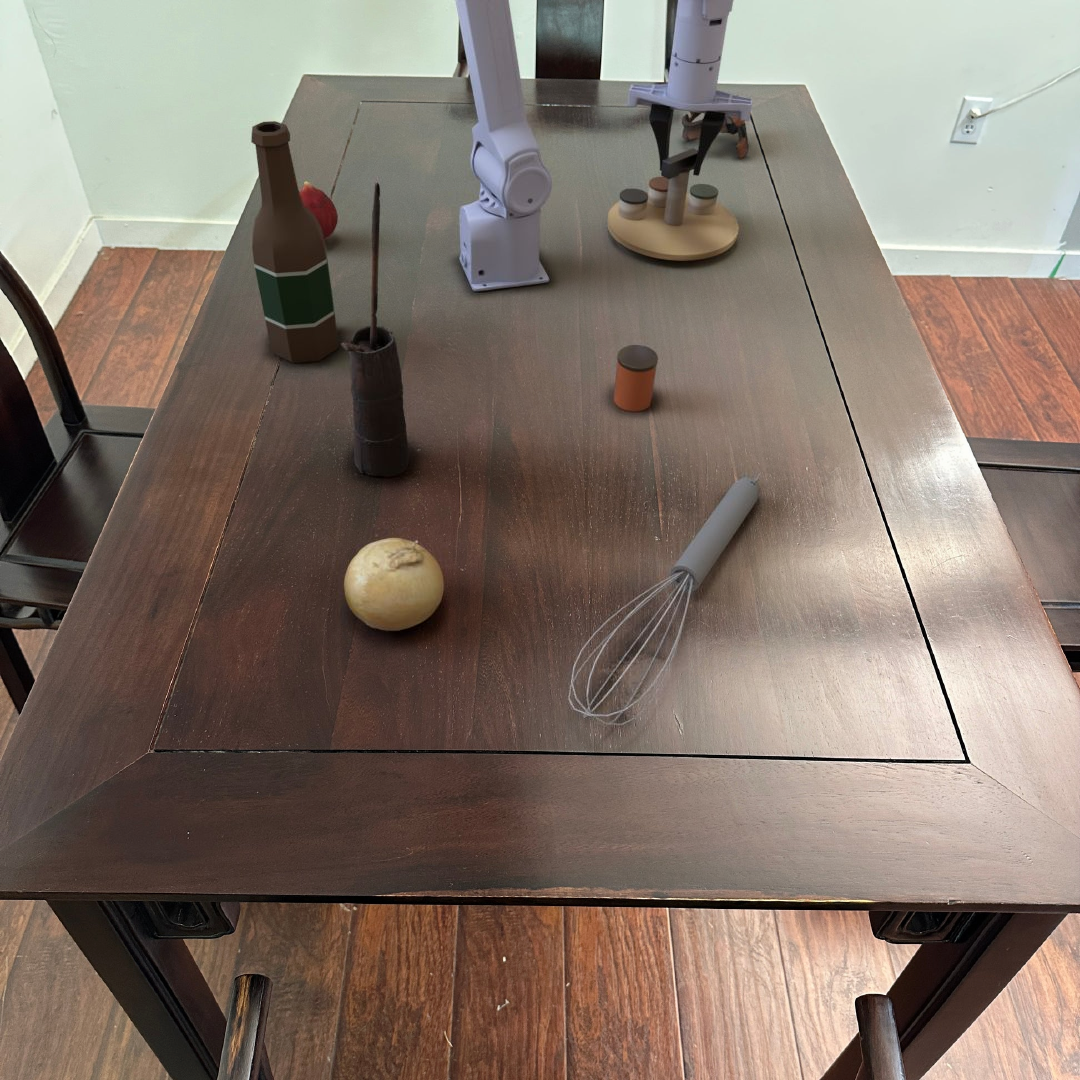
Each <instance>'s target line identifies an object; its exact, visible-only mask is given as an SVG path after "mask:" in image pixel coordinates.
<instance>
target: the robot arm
mask: <svg viewBox="0 0 1080 1080" xmlns="http://www.w3.org/2000/svg"><path fill="white" fill-rule="evenodd" d="M454 1H455V5H456V12H457V16H458V22H459V28H460V32H461V37H462V42H463V48H464V53H465V58H466V64H467V69H468V73H469V79H470V84H471V89H472V90H471V91H472V95H473V99H474V100H473V101H474V105H475V110H476V115H477V116H476V117H477V123H476V124H475V125H474V126H473V127H472V128H471V132H472V139H473V145H472V150H471V154H470V167H471V170H472V173H473V175H474V176H475V178H476V179H477V180H479V181H480V182H479V183H480V190H479V196H478V197H479V199H477V200H476V201H473V202H471V203H468V204H465V205H462V206H460V208H459V216H458V217H459V218H458V219H459V249H460V251H459V252H460V256H459V261H460V264H461V267H462V268H463V271H464V274H465V276H466V278H467V280H468V282H469V285H470V287H471V289H472V291H473V292H483V291H492V290H498V289H506V288H514V287H522V286H531V285H538V284H539V285H541V284H545V283H546V284H547V283H548V282H549V281H550V277H549V276H548V274H547V272H546V270H545V268H544V266H543V265H542V263H541V261H540V243H541V242H540V241H541V217H542V216H541V213H542V207H543V206H544V205H545V204H546V202H547V201H548V199H549V198H550V195H551V193H552V189H553V188H552V187H553V178H552V175H551V172H550V169H548V167H547V165H545V164H544V161H543V160H542V157H541V151H540V147H539V144H538V142H537V140H536V137H535V135H534V133H533V131H532V130H531V127H530V124H529V122H528V119H527V112H526V106H525V99H524V91H523V86H522V79H521V72H520V65H519V59H518V53H517V46H516V45H517V44H516V40H515V32H514V26H513V19H512V13H511V7H510V0H454ZM734 2H735V1H734V0H677V7H676V15H675V24H674V30H673V31H674V33H673V41H672V48H671V54H670V55H671V56H670V65H669V72H668V81H667V83H666V84H665V83H664V84H662V83H661V84H642V83H641V84H639V83H631V85H630V87H629V89H628V98H627V106H628V107H632V108H634V107H635V108H636V107H637V106H642V107H643V106H644V107H650V112H649V115H648V119H649V124H650V126H651V129H652V131H653V134H654V138H655V141H656V145H657V150H658V157H659V171H660V172H661V171H662V163H663V160H664V159H667V158H669V157H670V143H671V142H670V140H671V131H672V126H673V125H672V124H673V118H674V112H675V110H676V111H683V112H689V113H690V112H698V113H702V114H704V115H703V117H702V119H703V121H702V125H701V133H700V140H699V141H698V147H697V150H698V154H697V158H696V162H695V166H694V169H693V172H692V173H693V174H692V175H693V176H695V177H697V176H698V177H699V176H700V174H701V169H702V165H703V163H704V161H705V158H706V156H707V153H708V152H709V149H710V148H711V146H712V144H713V143H714V141H715V140H716V138H717V136H719V134H720V130H721V129H722V127H723V124H724V120H725V116H729V117H737V118H740V120H743V121H745V122H750V119H751V113H752V109H753V103H754V98H751V97H746V96H740V95H738V94H733V93H729V92H726V91H721V90H718V89H717V88H718V81H719V76H720V69H721V62H722V57H723V51H724V43H725V38H726V31H727V24H728V19H729V16H730V12H732V11H733V5H734ZM737 95H738V96H737Z"/></svg>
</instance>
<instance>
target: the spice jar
mask: <svg viewBox="0 0 1080 1080" xmlns="http://www.w3.org/2000/svg"><path fill="white" fill-rule="evenodd" d="M616 359H617V361H616V370H615V380H614V388H613V403H615V405H616V406H617V407H618V408H620V409H622V410H625V411H628V412H641V411H644V410H647V409H648V408H649V407H650V406H651V404H652V401H653V392H654V387H655V378H656V372H657V366H658V361H659V356H658V354H657V352H656V351H655V350H654V349H652V348H651V347H648V346H646V345H643V344H642V345H641V344H629V345H626V346H623V347H622V348H621V349H620V350H619V351H618V352H617V356H616Z"/></svg>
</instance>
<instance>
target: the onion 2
mask: <svg viewBox="0 0 1080 1080" xmlns="http://www.w3.org/2000/svg"><path fill="white" fill-rule="evenodd" d="M418 543H419V541H418V539H417V540H414V541H411V540H408V539H406V538H401V537H388V538H384V539H380V540H376V541H373V542H370V543H368V544H366V545H365V546H363V547H362V548H361V549H360V550H359V551H358V552H357V553H356V555H354V557H352V559H351V560H350V562H349V564H348V566H347V569H346V572H345V574H344V580H343V581H344V582H343V589H344V596H345V600H346V602H347V605H348V607H349V609H350V610H351V612H352V614H354V615H355V616H356V617H357V618H358V619H359V620H361V622H363V623H365V625H366V626H368V627H370V628H371V629H375V630H376V629H377V630H381V631H386V632H398V631H399V632H400V631H402V630H407V629H410V628H412V627H415V626H417V625H419V624H421V623H423V622H424V621H427V620H428V618H430V617H431V616H432V615H433V614H434V612H435V611H436V610H437V609H438V607H439V605H440V603H441V602H442V598H443V595H444V589H445V585H444V584H445V581H444V575H443V572H442V569H441V566H440V565H439V563H438V561H437V560H436V558H435V557H434V556H433V555H432V554H431V553H430V552H429V551H428V550H427V549H426V548H425V547H423V546H422V545H420V544H418Z"/></svg>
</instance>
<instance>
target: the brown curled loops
mask: <svg viewBox="0 0 1080 1080" xmlns="http://www.w3.org/2000/svg"><path fill="white" fill-rule="evenodd" d="M736 95H737V96H739V95H738V94H736ZM689 113H690V116H689V114H688V113H686V114H684V115H683V116H682V117H681V125H682V126H683V129H682V135H681V136H682V138H683V139H684V140H685V141H688V142H689V141H697V140H699V141H700V133H701V125H702V121H703V118H702V119H698V120H696V121H695V119H696V118H698V117H699V116H700V115H701V114H703V113H698V112H690V111H689ZM746 124H747V123H746V121H743V120H740V118H737V117H729V116H725V120H724V124H723V127H722V129H721V130H720V132H719V134H730V135H733V136H734V135H736V134H737V137H738V138H737V139H738V140H737V144H736V146H735V147H736V150H737V151H738V153H737V157H738V159H742V158H744V157H745V156H746V155H747V153H748V151H749V138H748V133H747V125H746Z"/></svg>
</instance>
